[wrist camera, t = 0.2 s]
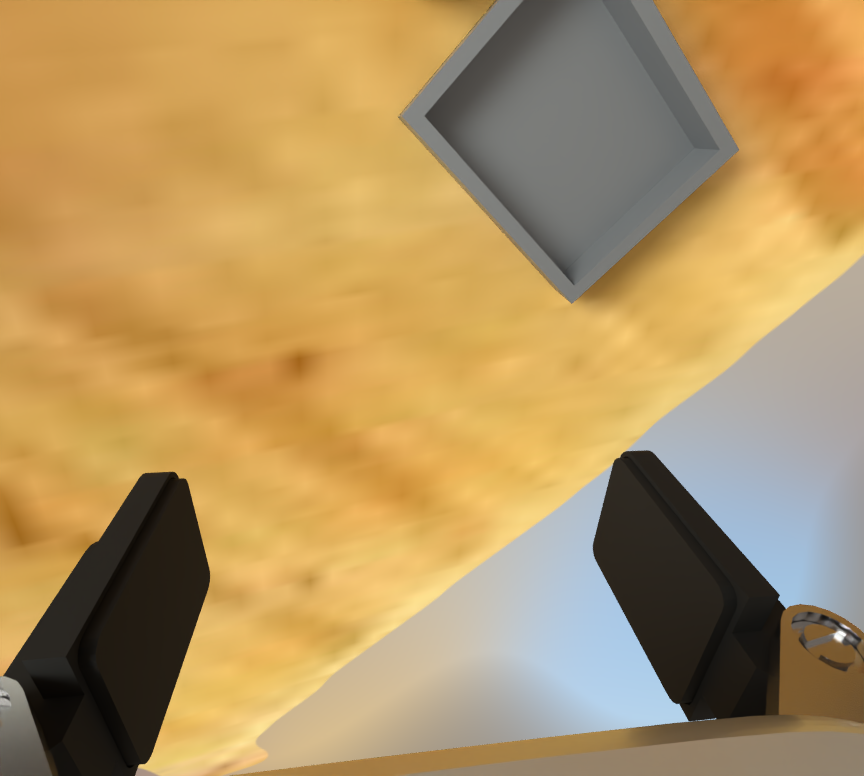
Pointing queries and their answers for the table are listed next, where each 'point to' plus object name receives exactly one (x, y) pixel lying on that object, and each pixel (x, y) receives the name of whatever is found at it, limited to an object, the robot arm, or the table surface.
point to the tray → (571, 129)
